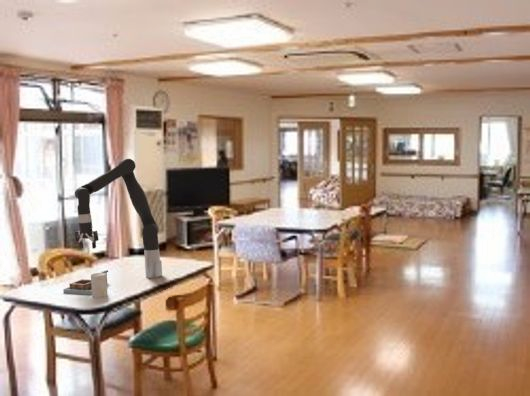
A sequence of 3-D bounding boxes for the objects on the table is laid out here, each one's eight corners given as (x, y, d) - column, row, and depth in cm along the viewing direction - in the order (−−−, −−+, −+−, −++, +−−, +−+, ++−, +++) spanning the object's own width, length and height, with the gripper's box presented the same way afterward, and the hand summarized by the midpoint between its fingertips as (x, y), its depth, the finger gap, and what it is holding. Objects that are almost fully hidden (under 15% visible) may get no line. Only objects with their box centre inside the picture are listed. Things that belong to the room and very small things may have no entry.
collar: (100, 286, 343) (100, 280, 342) (88, 291, 332) (88, 284, 332) (82, 285, 347) (81, 279, 347) (70, 290, 337) (69, 283, 337)
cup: (99, 298, 320) (97, 276, 319) (89, 296, 325) (87, 275, 324) (110, 294, 327) (109, 273, 326) (100, 293, 332) (98, 272, 330)
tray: (107, 287, 344) (107, 283, 344) (90, 294, 329) (90, 290, 329) (81, 285, 350) (81, 282, 350) (63, 292, 336) (63, 289, 335)
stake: (109, 282, 356) (108, 270, 355) (104, 284, 351) (103, 272, 350) (106, 282, 356) (105, 270, 356) (101, 284, 352) (100, 272, 351)
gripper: (99, 220, 348) (101, 247, 350) (78, 220, 353) (81, 247, 355) (91, 222, 341) (94, 249, 343) (70, 222, 346) (73, 249, 348)
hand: (88, 248), depth 349 cm, fingers open, 8 cm apart
